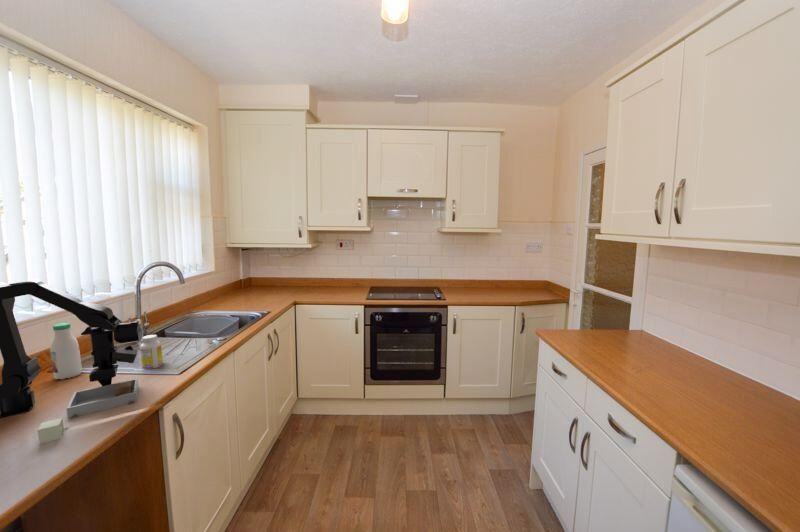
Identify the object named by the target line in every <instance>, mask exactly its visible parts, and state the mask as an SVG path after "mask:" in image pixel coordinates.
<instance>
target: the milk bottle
mask: <svg viewBox="0 0 800 532" xmlns="http://www.w3.org/2000/svg"><path fill="white" fill-rule="evenodd" d="M71 327H72V326H71V323H70V322H62V323H57V324H54V325H52V329H53V332H54V336H53V339H52V341H51V344H50V348H49V349H50V359H51V366H52V373H53V378H54V380H57V379H61V380H66V379H65V378H68V379H71V377H72V378H74V377H77V376H79V375H81V374H82V372H83V369H82V368H83V367H82V361H81V360H82V359H81V352H80V347H79V346H80V345H79V342H78V340H77V338H76V337H75V336H74V334H72V331H71V329H72V328H71Z"/></svg>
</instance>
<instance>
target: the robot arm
mask: <svg viewBox="0 0 800 532" xmlns="http://www.w3.org/2000/svg"><path fill="white" fill-rule="evenodd" d="M27 295H30V296H32V297H35V298H37V299H38V300H42V301H43V302H46V303H48V304H51V305H53V306H54V307H57V308H60V309H61V310H64V311H66V312H69V313H71V314H73V316H75V317H76V318H77V319H78V320H79V321H80V322H81V323H84V325H85V324H86V325H87V327H86V328H85V329H84V331H82V332H81V334H80V336H88V335H89V336H90V345H91V352H90V355H91V356H92V361H93V363H92V368H93V370H91V371H90V373H89V382H96V381H97V382H98V383H99V384H100V385H101V386H105V385H110V384H113V382H112V381H113V378H115V377H116V376H117V372H118V368H119V364H117V363H118V362H119V363H128V364H134V362H135V361H136V358H137V355H138V351H137V350H136V349H134V346H133V345H131V344H130V345H129V344H127V345H126V346H125V347H124V348H118V346H117V345H116V343H118V344H125V343H132V342H141V341H142V338H143V328H142V327H141V324H140V321H139V320H134V321H130V322H129V321H128V322H123V321H122V320H121V319H119V318H118V317H117V316H116V315H115V314H114V312H113V310H112V308H110V307H108V306H105V305H102V304H98V303H94V302H87V301H85V300H82V299H80V298H77V297H76V296H73V295H71V294H69V293H67V292H64V291H62V290H60V289H59V288H56V287H54V286H51V285H49V284H47V283H45V282H43V281H42V280H41V279H40V280H39V279H32V280H29V281H20V282H19V281H18V282H14V283H6V282H3V281H0V354H1V356H2V360H3V365H2V368H1V373H0V374H1V376H0V377H1V384H0V418H5V417H8V416H9V417H10V416H14V415H18V414H22V413H27V412H30V410H32V408H33V407H34V405H35V404H36V399H35V391H34V390H31V389H32V388H31V386H30V385H32V383H33V381H34V380H35V379H36V378H37V377H38V375H39V374H40V370H41V369H42V367H41V366H40V364H39V358H38V356H37V357H36V356H35V357H33V358H31V357H30V356H29V355H28V354H27V352H26V349H25V347H24V343H23V340H22V336H21V334H20V330H19V328H18V324H17V320H16V318H15V315H14V306H15V302H16V298H17V297H21V296H22V297H23V296H27ZM115 342H116V343H115Z"/></svg>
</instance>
